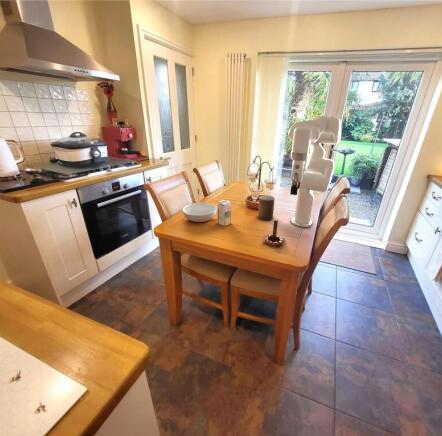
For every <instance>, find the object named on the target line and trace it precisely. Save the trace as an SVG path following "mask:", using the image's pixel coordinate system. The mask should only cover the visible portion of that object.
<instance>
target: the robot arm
mask: <svg viewBox="0 0 442 436" xmlns="http://www.w3.org/2000/svg"><path fill="white" fill-rule="evenodd" d="M287 135H288V139H289V140H290V141H291V142H292V145H291V154H290V160H292V167H291V176H290V177H291V178H290V181H291V186H290V191H289V194H290V196H291V195H293V196H297V197H296V203H295V211H294V217H292V218H291V221H290V222H291V223H292V225H294V226H297V227H301V228H309V227H310V226H312V225H313V221H312V220H311V216H312V210H313V205H314V199H315V196H314V192H320V193H325V192H326V191H328V190H329V187H330V184H331V181H332V178H333V174H334V171H335V165H336V164H335V161H334V160H332V159H331V158H325V156H326V151H325V148H324V146H323V145H322V144H326V145H338V143H339V142H340V141H341V138H342V123H341V119H340V118H339V117H338V116H334V115H333V116H332V115H318V116H316V117H314V118H313V119H309V120H303V121H298V122H297V121H296V122H295V123H293V124H292V125H291V126H290V127H289V129H288V134H287ZM309 153H310V154H309ZM313 191H314V192H313Z"/></svg>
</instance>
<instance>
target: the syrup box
mask: <svg viewBox="0 0 442 436" xmlns="http://www.w3.org/2000/svg"><path fill="white" fill-rule="evenodd" d="M231 223H232V201H229V200H227V199H223V200H220V201H218V202H217V224H219V225H221V226H223V227H226V226H228V225H231Z"/></svg>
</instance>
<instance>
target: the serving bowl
mask: <svg viewBox="0 0 442 436" xmlns="http://www.w3.org/2000/svg"><path fill="white" fill-rule="evenodd" d="M217 213H218V206H216V204H213V203H211V202H201V201H200V202H192V203H189V204H186V205H185V206H184V207H182V214H183V216H184V217H185V219H187V220H189V221H191V222H196V223H201V222H207V221H210V220H212V219H213V218H214V217H216V214H217Z"/></svg>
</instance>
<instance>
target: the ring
mask: <svg viewBox="0 0 442 436" xmlns="http://www.w3.org/2000/svg"><path fill="white" fill-rule="evenodd" d="M267 235H268V234H267ZM267 235H266V236H265V238H264V241H266V243H268V244H270V245H269V246H273V245H280V244H282V245H283V242H284V239H282V238H283V237H281V236H279V235H277V234H276V238H277V239H279V240H280V241H279V242H271V241H269V240H268V239H269V238H272V235H273V234H269V235H268V236H267ZM268 244H267V245H268Z"/></svg>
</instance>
